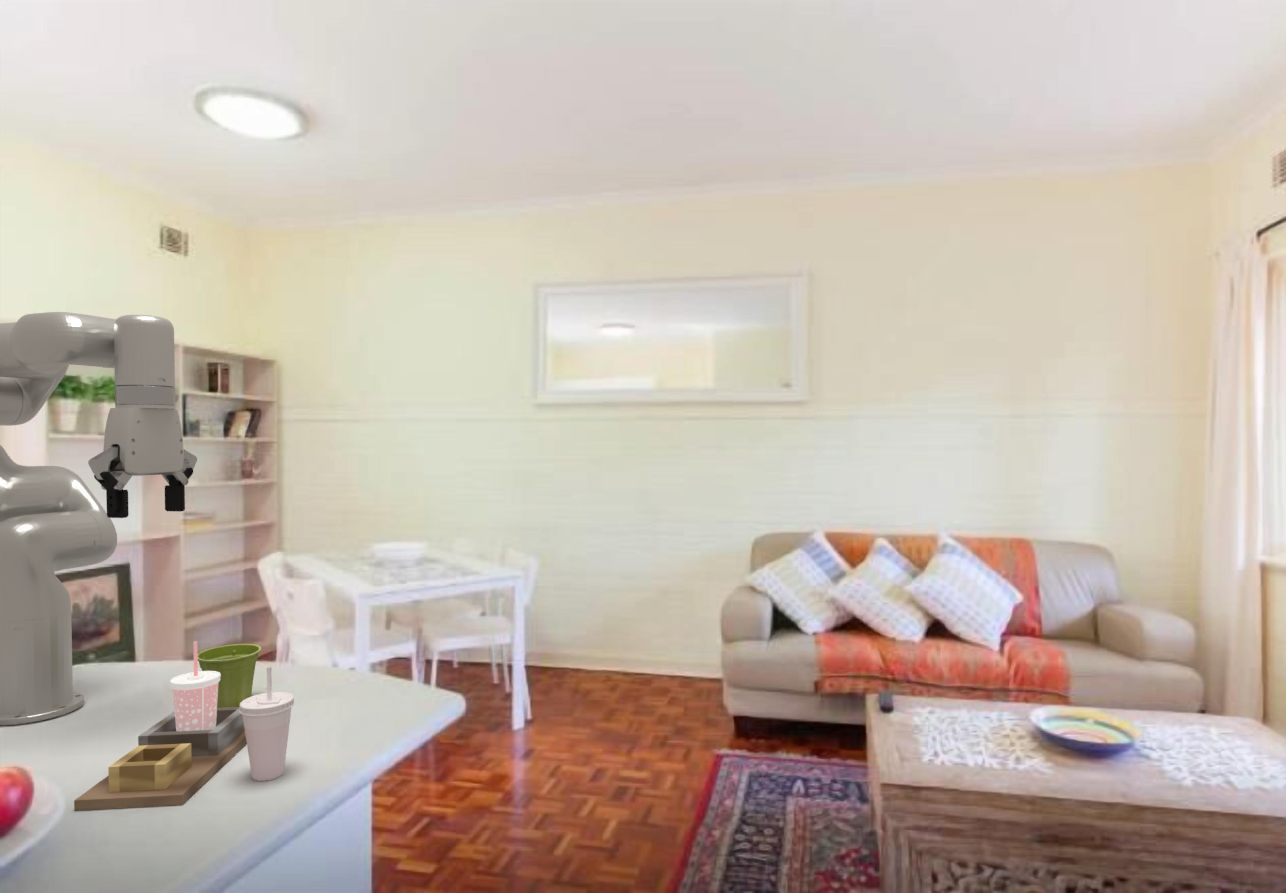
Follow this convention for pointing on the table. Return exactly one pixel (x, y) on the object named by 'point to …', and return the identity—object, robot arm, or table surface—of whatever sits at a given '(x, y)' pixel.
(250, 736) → the smoothie
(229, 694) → the plant pot
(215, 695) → the beverage cup
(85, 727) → the table surface
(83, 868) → the table surface
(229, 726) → the fitting board
